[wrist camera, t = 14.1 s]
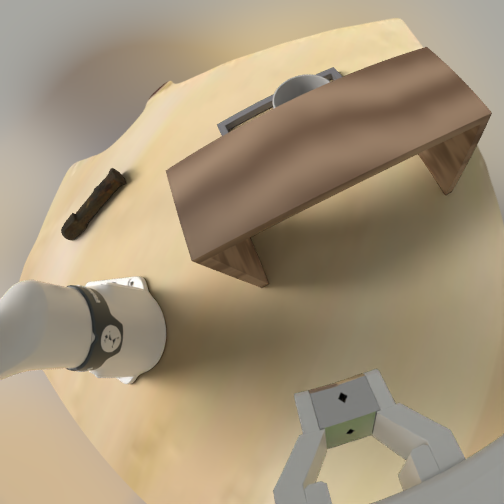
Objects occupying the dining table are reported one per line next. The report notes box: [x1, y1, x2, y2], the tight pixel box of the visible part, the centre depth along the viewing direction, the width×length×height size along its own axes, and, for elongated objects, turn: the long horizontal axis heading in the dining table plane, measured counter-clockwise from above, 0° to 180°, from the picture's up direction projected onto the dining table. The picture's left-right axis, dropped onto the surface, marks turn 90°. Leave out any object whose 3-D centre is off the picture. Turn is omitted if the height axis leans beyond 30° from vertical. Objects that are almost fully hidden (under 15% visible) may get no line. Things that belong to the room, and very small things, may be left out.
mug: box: [273, 75, 330, 108], centre depth 39 cm, size 12×8×11 cm
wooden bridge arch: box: [166, 47, 492, 288], centre depth 32 cm, size 10×30×18 cm, turn 112°
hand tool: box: [61, 168, 126, 240], centre depth 56 cm, size 19×4×5 cm, turn 126°
